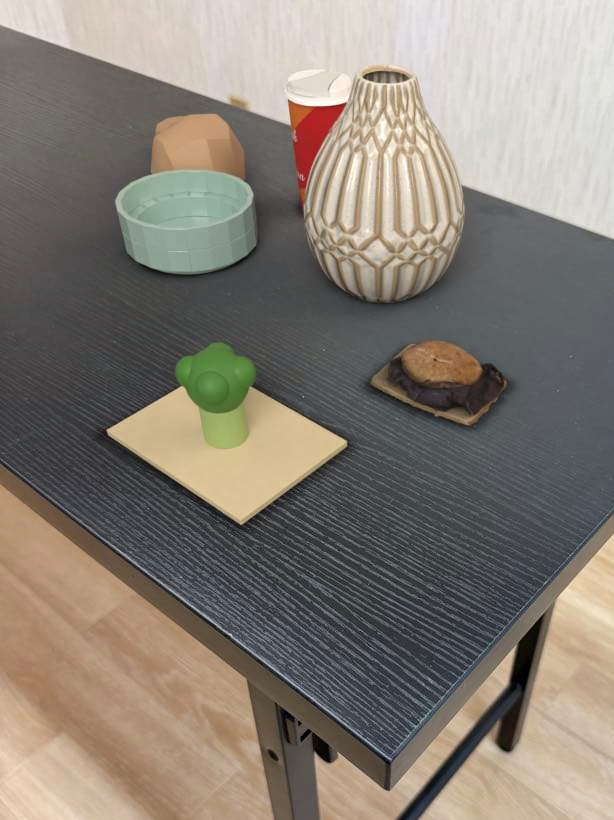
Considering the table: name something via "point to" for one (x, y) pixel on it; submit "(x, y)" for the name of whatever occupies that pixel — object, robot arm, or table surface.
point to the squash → (197, 145)
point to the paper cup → (313, 114)
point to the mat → (229, 451)
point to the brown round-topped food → (441, 381)
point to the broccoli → (218, 392)
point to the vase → (384, 192)
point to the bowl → (188, 220)
